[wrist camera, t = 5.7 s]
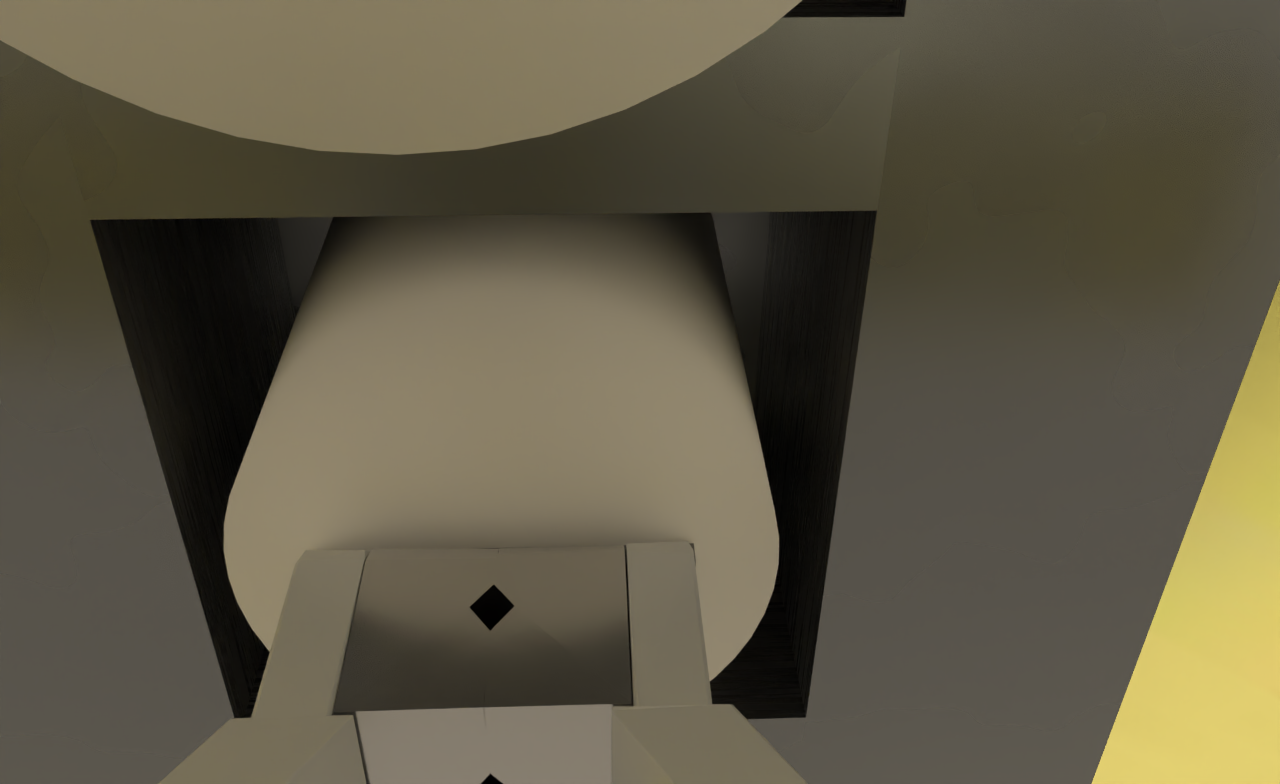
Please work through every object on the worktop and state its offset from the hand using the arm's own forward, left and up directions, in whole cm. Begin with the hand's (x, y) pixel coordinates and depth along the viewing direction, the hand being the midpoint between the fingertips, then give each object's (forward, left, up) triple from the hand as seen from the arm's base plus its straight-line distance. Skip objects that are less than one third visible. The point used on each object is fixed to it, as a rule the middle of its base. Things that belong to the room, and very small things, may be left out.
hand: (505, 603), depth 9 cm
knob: (0, 0, -5) cm, 5 cm away
